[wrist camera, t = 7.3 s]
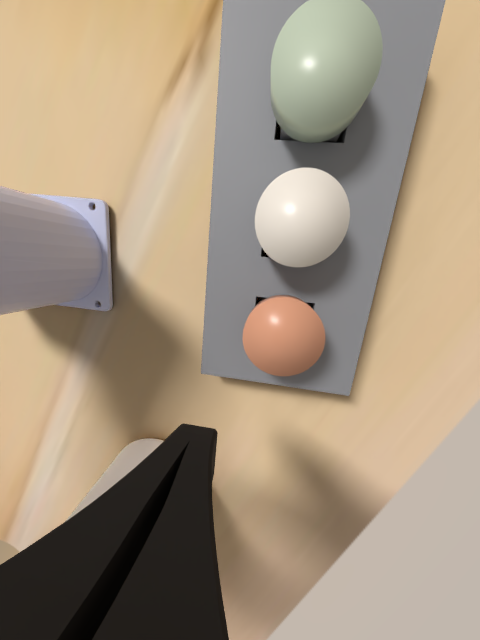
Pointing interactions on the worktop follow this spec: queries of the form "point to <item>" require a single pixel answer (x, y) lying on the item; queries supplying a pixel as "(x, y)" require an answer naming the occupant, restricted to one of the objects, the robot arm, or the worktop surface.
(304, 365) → the terracotta button
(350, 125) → the button panel
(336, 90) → the sage button
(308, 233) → the cream button
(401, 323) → the worktop surface
